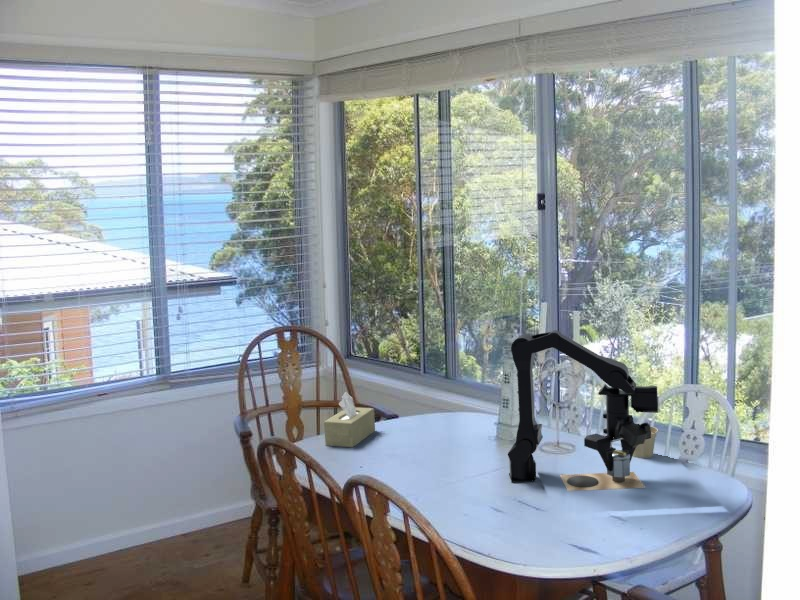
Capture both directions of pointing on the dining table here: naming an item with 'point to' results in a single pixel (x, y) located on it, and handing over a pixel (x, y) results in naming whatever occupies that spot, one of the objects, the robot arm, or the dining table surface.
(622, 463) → the cap
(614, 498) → the dining table surface
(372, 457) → the dining table surface
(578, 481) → the board
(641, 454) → the flower pot
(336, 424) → the tissue box
